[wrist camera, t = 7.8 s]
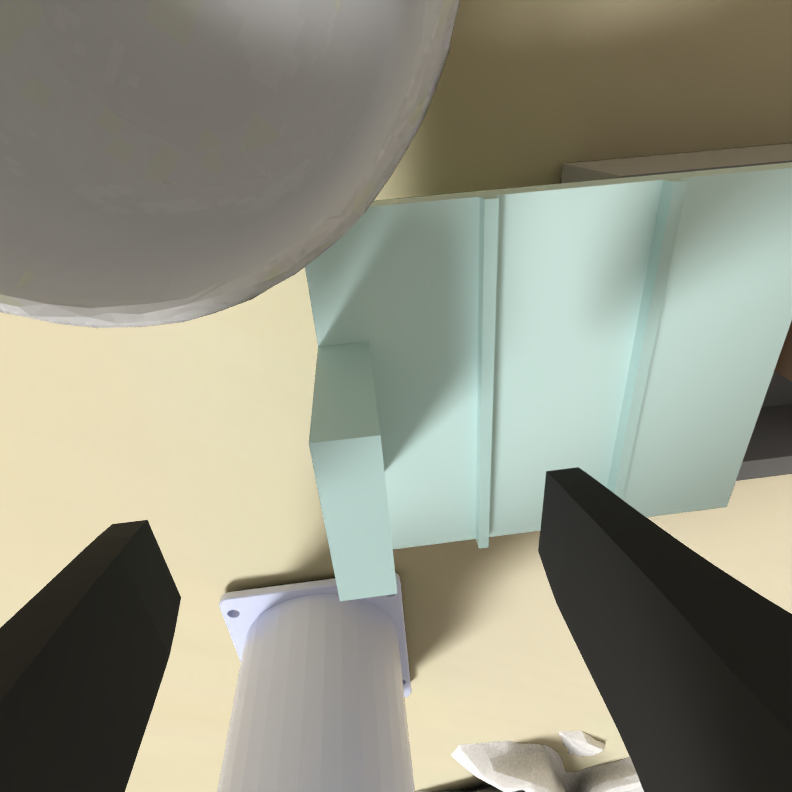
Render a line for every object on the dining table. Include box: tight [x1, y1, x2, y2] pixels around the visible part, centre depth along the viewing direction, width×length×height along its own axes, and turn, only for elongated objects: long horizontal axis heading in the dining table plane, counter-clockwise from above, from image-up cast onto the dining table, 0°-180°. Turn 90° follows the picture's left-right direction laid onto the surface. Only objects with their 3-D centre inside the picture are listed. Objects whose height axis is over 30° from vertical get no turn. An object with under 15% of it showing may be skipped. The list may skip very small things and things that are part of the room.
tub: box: [561, 143, 792, 481], centre depth 16 cm, size 12×10×4 cm
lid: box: [305, 162, 792, 601], centre depth 12 cm, size 12×10×5 cm
